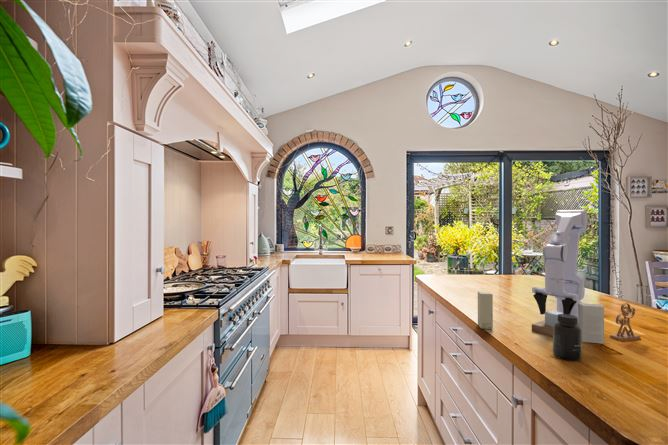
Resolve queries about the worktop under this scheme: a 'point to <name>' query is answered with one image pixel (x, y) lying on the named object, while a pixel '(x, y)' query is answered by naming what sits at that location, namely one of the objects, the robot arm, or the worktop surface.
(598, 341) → the skincare box
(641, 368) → the worktop surface
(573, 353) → the supplement bottle
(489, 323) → the box
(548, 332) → the walnut block
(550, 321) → the slate cube
